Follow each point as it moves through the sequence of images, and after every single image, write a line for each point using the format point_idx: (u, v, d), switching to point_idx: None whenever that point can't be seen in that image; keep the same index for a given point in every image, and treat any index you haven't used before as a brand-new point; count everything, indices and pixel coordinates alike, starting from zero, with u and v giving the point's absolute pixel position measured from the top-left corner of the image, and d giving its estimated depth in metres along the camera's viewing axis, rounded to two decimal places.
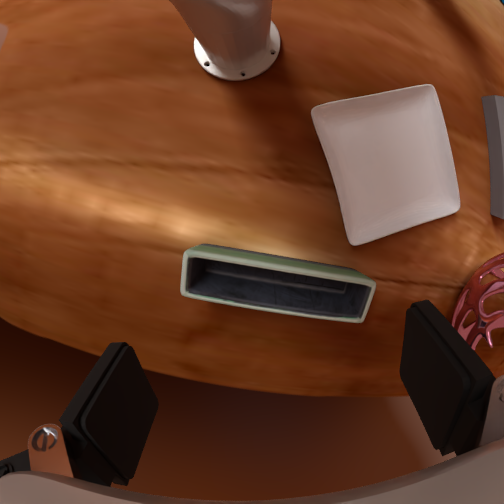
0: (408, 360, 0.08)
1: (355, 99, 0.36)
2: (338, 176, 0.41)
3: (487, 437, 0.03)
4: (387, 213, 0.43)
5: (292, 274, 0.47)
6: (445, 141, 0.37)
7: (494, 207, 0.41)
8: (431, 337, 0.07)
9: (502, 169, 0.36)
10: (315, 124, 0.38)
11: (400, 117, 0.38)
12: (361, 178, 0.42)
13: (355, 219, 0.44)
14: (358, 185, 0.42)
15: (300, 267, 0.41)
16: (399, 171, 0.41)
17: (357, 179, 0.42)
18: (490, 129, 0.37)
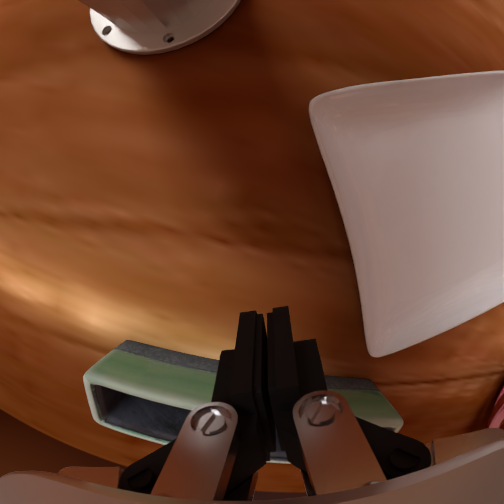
0: None
1: (401, 83, 0.16)
2: (360, 243, 0.20)
3: (316, 467, 0.04)
4: (436, 297, 0.23)
5: None
6: None
7: None
8: (267, 341, 0.08)
9: None
10: (318, 134, 0.17)
11: (472, 125, 0.18)
12: (401, 240, 0.22)
13: (383, 312, 0.23)
14: (395, 253, 0.22)
15: None
16: (464, 224, 0.21)
17: (394, 242, 0.22)
18: None
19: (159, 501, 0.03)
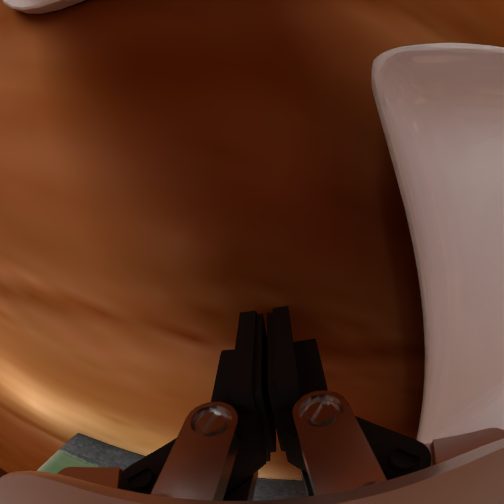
0: None
1: None
2: (438, 347, 0.10)
3: (316, 467, 0.04)
4: None
5: None
6: None
7: None
8: (267, 341, 0.08)
9: None
10: (394, 138, 0.07)
11: None
12: (487, 323, 0.11)
13: (440, 418, 0.13)
14: (475, 342, 0.11)
15: None
16: None
17: (476, 327, 0.11)
18: None
19: (159, 501, 0.03)
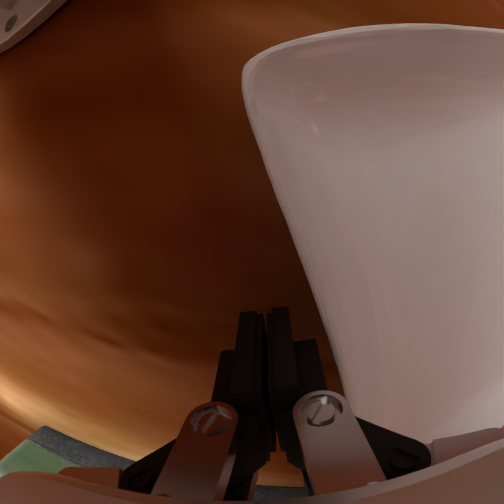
0: None
1: (456, 32, 0.05)
2: (363, 364, 0.10)
3: (316, 467, 0.04)
4: (472, 398, 0.12)
5: None
6: None
7: None
8: (267, 341, 0.08)
9: None
10: (267, 146, 0.07)
11: None
12: (436, 337, 0.11)
13: None
14: (422, 357, 0.11)
15: None
16: None
17: (423, 341, 0.11)
18: None
19: (159, 501, 0.03)
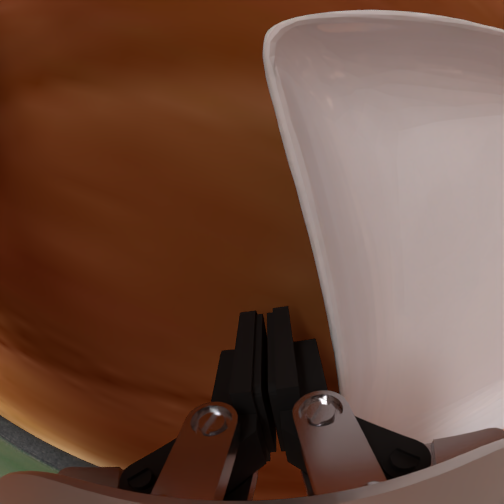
0: None
1: (473, 29, 0.05)
2: (359, 353, 0.10)
3: (316, 467, 0.04)
4: (462, 405, 0.12)
5: None
6: None
7: None
8: (267, 342, 0.08)
9: None
10: (283, 108, 0.07)
11: None
12: (433, 334, 0.11)
13: None
14: (418, 354, 0.11)
15: None
16: None
17: (419, 337, 0.11)
18: None
19: (159, 501, 0.03)
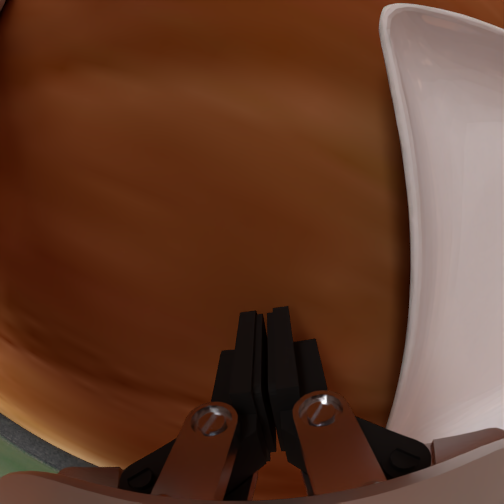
0: None
1: None
2: (421, 328, 0.09)
3: (316, 467, 0.04)
4: (482, 400, 0.12)
5: None
6: None
7: None
8: (267, 341, 0.08)
9: None
10: (396, 75, 0.06)
11: None
12: (473, 320, 0.10)
13: (408, 423, 0.12)
14: (457, 340, 0.11)
15: None
16: None
17: (462, 322, 0.10)
18: None
19: (159, 501, 0.03)
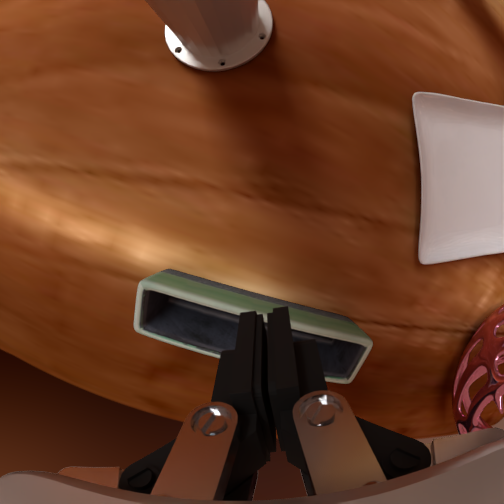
0: None
1: (457, 99, 0.26)
2: (425, 179, 0.31)
3: (316, 467, 0.04)
4: (458, 235, 0.34)
5: None
6: None
7: None
8: (267, 342, 0.08)
9: None
10: (415, 111, 0.28)
11: (489, 135, 0.29)
12: (443, 188, 0.32)
13: (428, 233, 0.34)
14: (439, 195, 0.32)
15: None
16: (478, 191, 0.32)
17: (439, 188, 0.32)
18: None
19: (159, 501, 0.03)
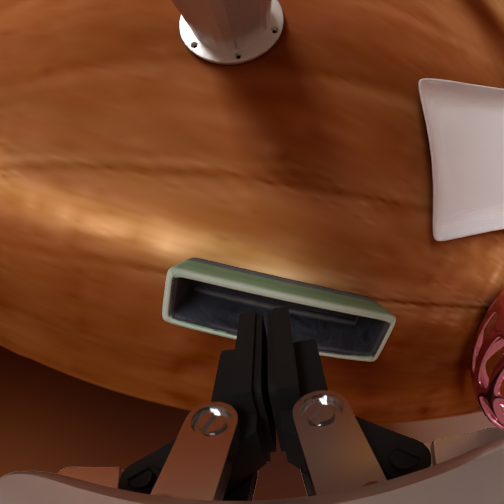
0: None
1: (460, 84, 0.27)
2: (434, 159, 0.31)
3: (316, 467, 0.04)
4: (468, 213, 0.34)
5: None
6: None
7: None
8: (267, 342, 0.08)
9: None
10: (422, 96, 0.28)
11: (491, 116, 0.29)
12: (451, 168, 0.33)
13: (440, 212, 0.34)
14: (448, 175, 0.33)
15: (310, 297, 0.33)
16: (484, 170, 0.32)
17: (448, 168, 0.33)
18: None
19: (159, 501, 0.03)
